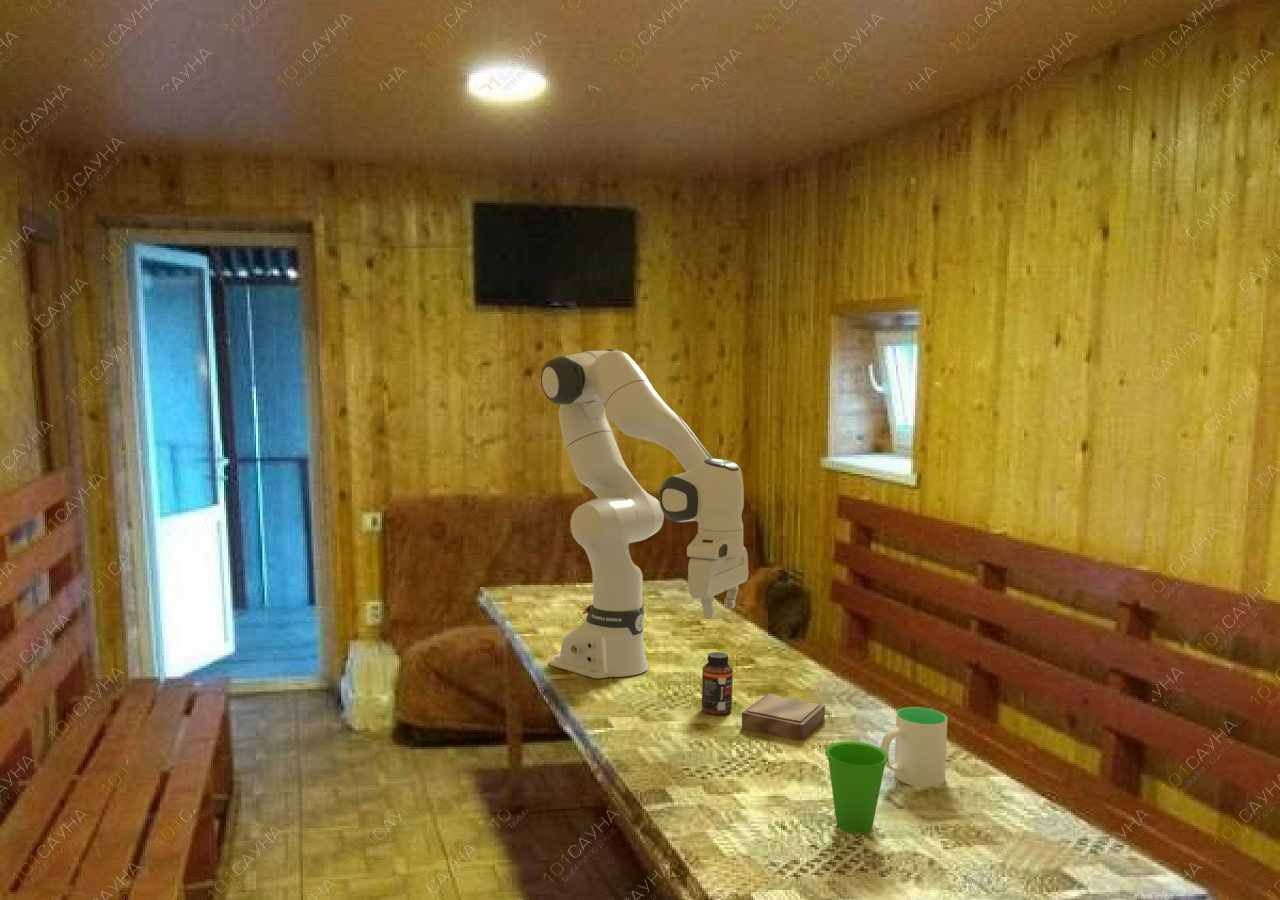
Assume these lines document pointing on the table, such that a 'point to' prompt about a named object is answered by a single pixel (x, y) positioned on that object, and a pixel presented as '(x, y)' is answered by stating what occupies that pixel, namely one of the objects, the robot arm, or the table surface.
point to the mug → (918, 746)
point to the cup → (855, 783)
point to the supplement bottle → (717, 684)
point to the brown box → (783, 717)
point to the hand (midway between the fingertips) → (719, 612)
